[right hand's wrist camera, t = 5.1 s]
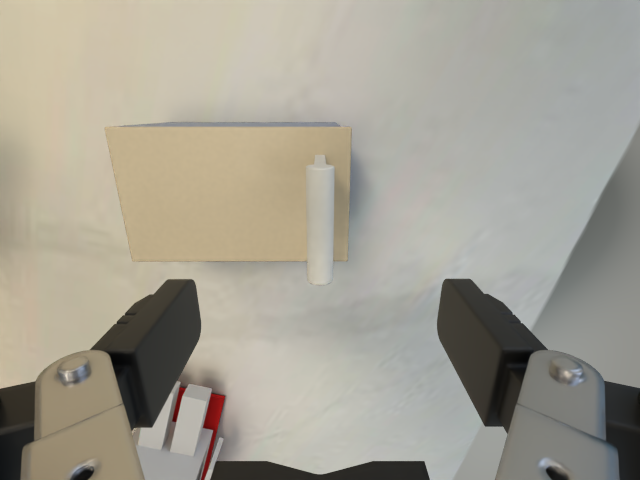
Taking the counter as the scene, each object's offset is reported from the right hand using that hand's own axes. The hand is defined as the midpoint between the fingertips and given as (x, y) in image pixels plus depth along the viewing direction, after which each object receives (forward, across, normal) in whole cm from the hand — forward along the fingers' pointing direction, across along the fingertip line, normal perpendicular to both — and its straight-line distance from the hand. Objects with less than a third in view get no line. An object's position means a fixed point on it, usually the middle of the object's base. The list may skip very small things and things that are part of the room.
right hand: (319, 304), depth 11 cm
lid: (+15, -6, 0) cm, 16 cm away
